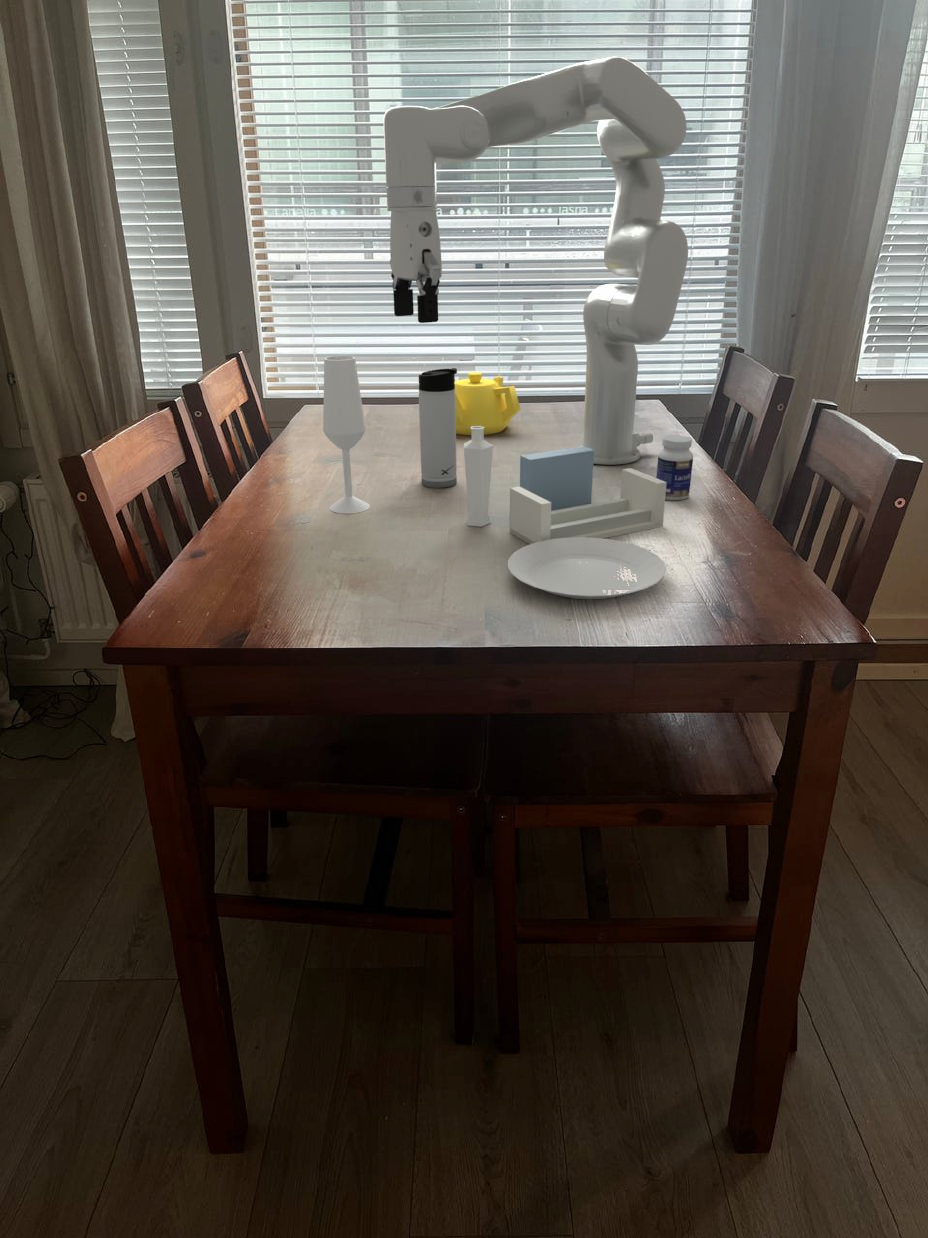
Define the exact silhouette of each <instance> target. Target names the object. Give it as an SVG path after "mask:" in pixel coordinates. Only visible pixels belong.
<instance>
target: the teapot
mask: <svg viewBox="0 0 928 1238" xmlns="http://www.w3.org/2000/svg"><path fill="white" fill-rule="evenodd" d="M482 377H483V373H482V372H477V371H475V372H474V371H472V372H469V373H467V378H464V379H463V378H462V379H459V380H455V383H454V384H455V404H456V435H463V436H472V430H471V426H482V427H485V428H484V436H486V435H487V436H488V435H492V434H493V435H494V434H498V433H500V432H503V431H504V430H505V429H506V427H508V425H509V424H510V423H511V420H512V419H513V418H514V417H515V416H516V415H517V414H518V413H519V412H520V411H521V406H520V402H519V399H518V394H517V390H516V387H515V385H511V386H504V385H503V384H504V377H503V376H496V377H493V378H494V379H490V378H489V379H488V378H482Z"/></svg>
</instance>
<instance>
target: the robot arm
mask: <svg viewBox="0 0 928 1238" xmlns="http://www.w3.org/2000/svg"><path fill="white" fill-rule="evenodd" d="M597 121H598V124H597V139H598V143H599V147H600V149H601V151H602V152H603V154H604V155H605V157H606V159H607V160H608V163H609V164H610V166H611V169H612V172H613V174H614V175H613V176H614V179H615V186H616V187H615V195H614V201H613V207H612V211H611V216H610V221H609V226H608V231H607V236H606V240H605V245H604V252H603V261H604V264H605V267H606V268H607V269H608V272H609V271H610V273H612V274H614V275H617V276H620V277H627V278H635V279H637V284H636V285H632V284H622V283H606V284H602V285H600V286H598V287H596V288H595V289H594V290H592V291H591V292H590V294H589V295H588V296H587V298H586V300H585V303H584V306H583V312H582V313H583V317H582V319H583V320H582V321H583V328H584V334H585V342H586V343H585V344H586V367H585V368H586V369H585V370H586V371H585V387H584V388H585V389H584V390H585V391H584V407H583V408H584V411H583V429H582V431H583V433H582V445H579V446H578V447H581V446H584V447H587V448H589V449H592V450H594V458H593V465H594V464H595V465H607V466H610V465H611V466H612V465H613V466H614V465H615V466H616V465H624V464H625V465H626V464H630V463H634V462H636V461H638V460H640V459H641V458H640V457H641V451H640V449H638V447H639V446H641V445H643V444H644V445H646V444H651V443H652V442H654V436H653V434H652V433H651V432H647V433H642V434H640V433H639V432H635V431H634V429H635V428H634V427H635V415H636V401H637V399H636V397H637V387H638V386H637V385H638V373H639V372H638V371H639V362H638V361H639V359H638V353H637V350H636V345H645V346H650V345H651V346H652V345H654V344H657V343H659V342H660V341H662V340H663V339H664V338H665V337H666V335H667V334H668V332H669V330H670V329H671V327H672V323H673V321H674V318H675V315H676V311H677V307H678V304H679V303H678V301H679V298H680V295H681V290H682V286H683V281H684V277H685V272H686V271H687V270H686V269H687V265H688V259H689V258H688V257H689V244H688V239H687V236H686V235H687V234H685V231H684V230H683V229H682V227H681V226H680V225H678V224H677V223H676V222H673V221H669V220H663V219H661V217H662V211H663V206H664V201H665V193H666V186H665V184H666V183H665V179H664V175H663V171H662V169H661V167H660V164H659V162H658V159H664V158H667V157H669V156H672V155H673V154H675V153H676V152H677V151H678V150H679V149H680V148H681V146H682V145H683V143H684V141H685V138H686V135H687V119H686V114H685V112H684V110H683V108H682V106H681V105H680V103H679V102H678V101H677V100H676V99H675V98H674V97H673V96H672V95H671V94H670V93H669V92H668V91H667V90H666V89H665V88H663V87H662V85H660V84H659V83H658V82H657V81H655V79H654V78H653V77H651V76H650V75H649V74H648V73H646V71H644V70H643V69H642V68H641V67H640V66H639V65H637V64H635V63H634V62H632V61H631V60H629V59H628V58H625V57H623V56H611V57H604V58H601V59H593V60H588V61H583V62H578V63H576V64H573V65H572V64H571V65H568V66H565V67H562V68H559V69H555V70H553V71H550V72H546V73H542V74H541V75H536V76H533V77H530V78H526V79H522V80H520V81H516V82H513V83H510V84H507V85H505V86H501V87H499V88H496V89H493V90H491V91H488V92H485V93H481V94H478V95H475V96H471V97H468V98H465V99H461V100H458V101H454V102H451V103H448V104H444V105H440V106H438V107H434V108H428V107H425V106H419V105H403V106H400V105H399V106H393V107H390V108H388V109H387V110H386V111H385V113H384V116H383V140H384V160H385V161H384V163H385V164H384V165H385V182H386V183H385V186H386V205H387V208H386V209H387V212H390V224H389V225H390V226H389V227H390V228H389V229H390V230H389V233H390V235H389V236H390V237H389V245H390V247H389V248H390V249H389V250H390V252H389V255H390V259H389V264H390V265H389V266H390V268H391V273H390V274H391V275H390V276H391V278H392V282H391V283H392V284H391V287H392V289H393V311H394V313H393V314H394V316H396V317H405V316H406V317H409V316H413V315H414V313H415V312H414V309H415V308H414V289H412V288H411V287H412V282H415V284H416V287H417V290H418V292H419V295H416V296H417V297H416V299H417V300H416V301H417V322H418V323H420V324H427V323H437V322H438V321H439V299H438V297H439V296H438V295H439V294H440V291H439V286H440V282H441V280H440V279H441V278H442V277H443V267H442V265H443V264H442V252H441V251H442V250H441V238H440V237H441V236H440V227H439V219H438V215H437V210H438V201H437V198H438V196H437V192H438V191H437V165H444V164H460V163H461V164H462V163H463V164H464V163H468V162H472V161H475V160H476V159H479V158H480V156H481V155H483V154H484V152H486V150H487V148H492V147H499V146H508V145H511V146H512V145H519V144H526V143H528V142H535V141H538V140H540V139H543V138H547V137H549V136H551V135H554V134H558V133H560V132H563V131H566V130H570V129H572V128H576V127H578V126H582V125H583V124H584V125H585V124H588V123H592V122H597Z"/></svg>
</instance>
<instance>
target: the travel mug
mask: <svg viewBox="0 0 928 1238" xmlns="http://www.w3.org/2000/svg"><path fill="white" fill-rule="evenodd" d="M457 373H458V369H457V368H456V367H451V368H438V369H433V370H432V369H431V370H427V371H426V370H425V371H424V372H421V374H419V375H418V413H419V415H418V416H419V442H420V445H419V446H420V448H419V449H420V468H421V469H420V474H421V479H420V480H421V484H422V485H423V486H424V487H427V488H432V489H442V488H443V489H445V488H450V487H452V486H454V485H456V484H457V482H458V481H457V476H458V475H457V434H456V404H455V384H454V383H455V381H456V379H455V375H457Z"/></svg>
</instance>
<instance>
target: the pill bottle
mask: <svg viewBox="0 0 928 1238" xmlns="http://www.w3.org/2000/svg"><path fill="white" fill-rule="evenodd" d="M692 440H693V439H692V438H691V437H689V436H684V435H679V434H678V435H677V434H676V435H675V434H672V435H671V434H670V435H665V436H663V437H662V443H661V444H662V445H661V446H663V449H662V450H660V451H659V452H658V457H657V464H656V465H657V466H656V474H655V475H656V477H655V478H657V479H660V480H662V481H665V482H667V483H666V495H665V501H682V500H686V499H688V498H689V496H690V490H691V481H692V470H693V464H694V463H693V462H694V455H693V453H692V451H691V450H690V448H691V447H692V444H693V441H692Z"/></svg>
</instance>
